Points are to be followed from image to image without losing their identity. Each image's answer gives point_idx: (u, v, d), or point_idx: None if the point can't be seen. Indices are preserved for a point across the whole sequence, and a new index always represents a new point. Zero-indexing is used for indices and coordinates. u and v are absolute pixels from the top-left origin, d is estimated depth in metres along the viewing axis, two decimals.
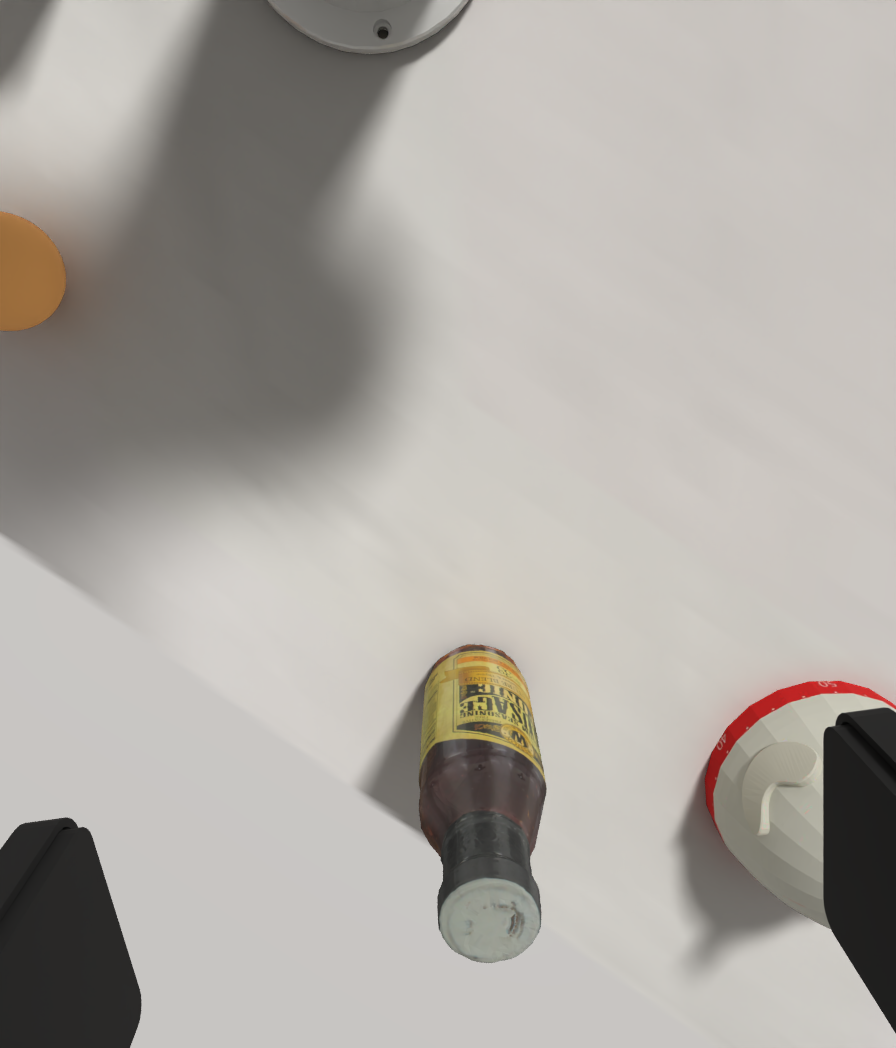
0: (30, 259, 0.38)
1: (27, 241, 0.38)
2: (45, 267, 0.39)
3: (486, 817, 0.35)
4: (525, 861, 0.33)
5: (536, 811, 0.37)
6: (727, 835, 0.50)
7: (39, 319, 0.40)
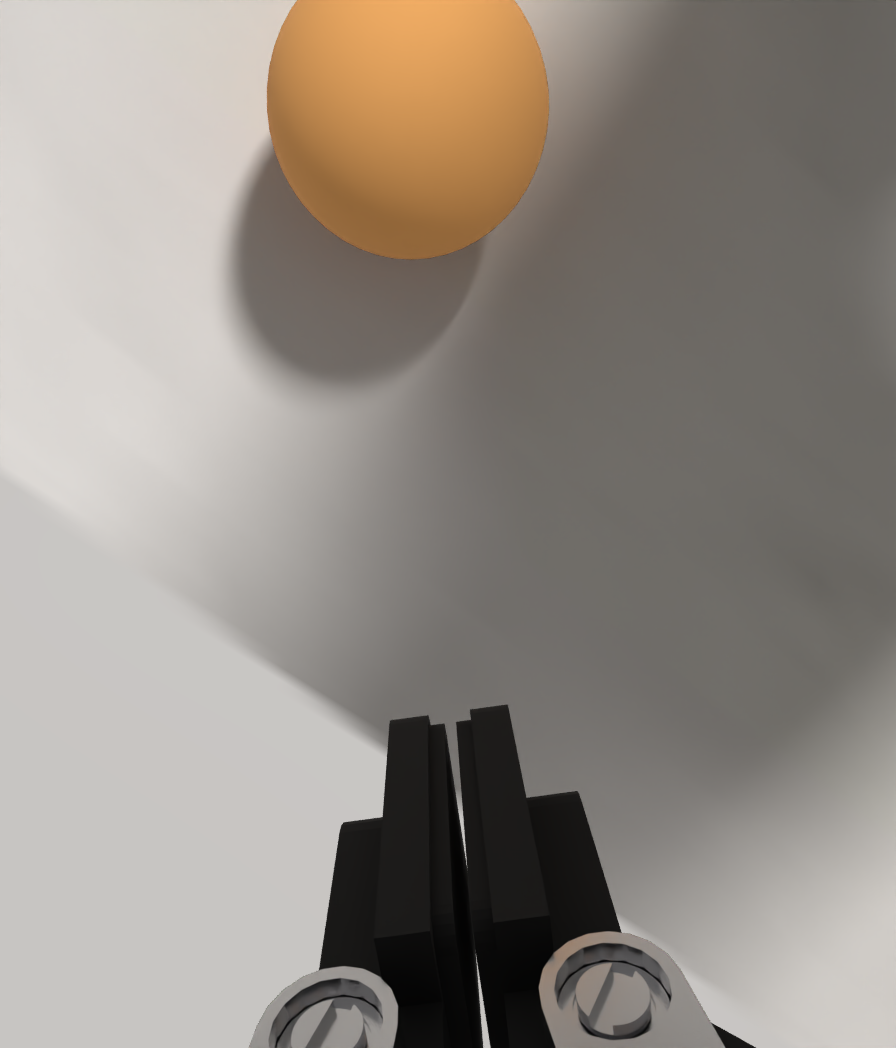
0: (525, 63, 0.15)
1: (516, 16, 0.15)
2: (542, 91, 0.15)
3: None
4: None
5: None
6: None
7: (489, 230, 0.17)
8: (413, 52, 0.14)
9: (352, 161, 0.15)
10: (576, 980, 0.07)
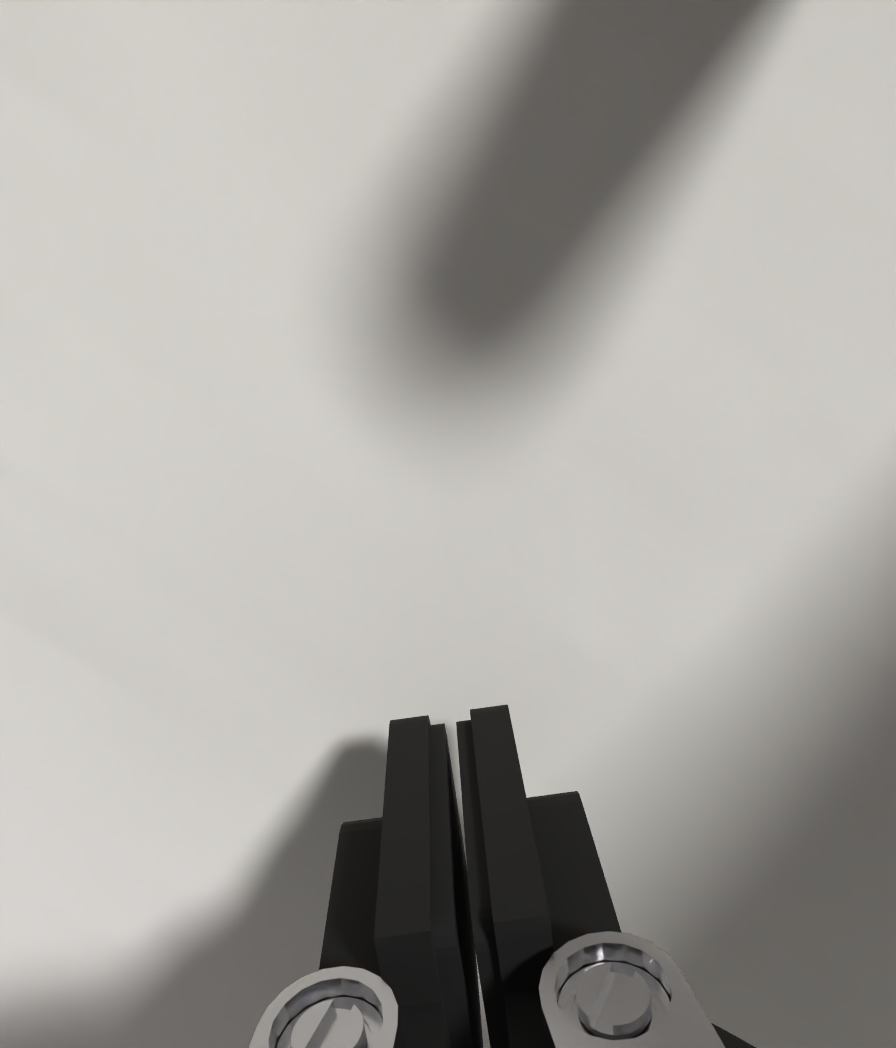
0: None
1: None
2: None
3: None
4: None
5: None
6: None
7: None
8: None
9: None
10: (576, 982, 0.07)
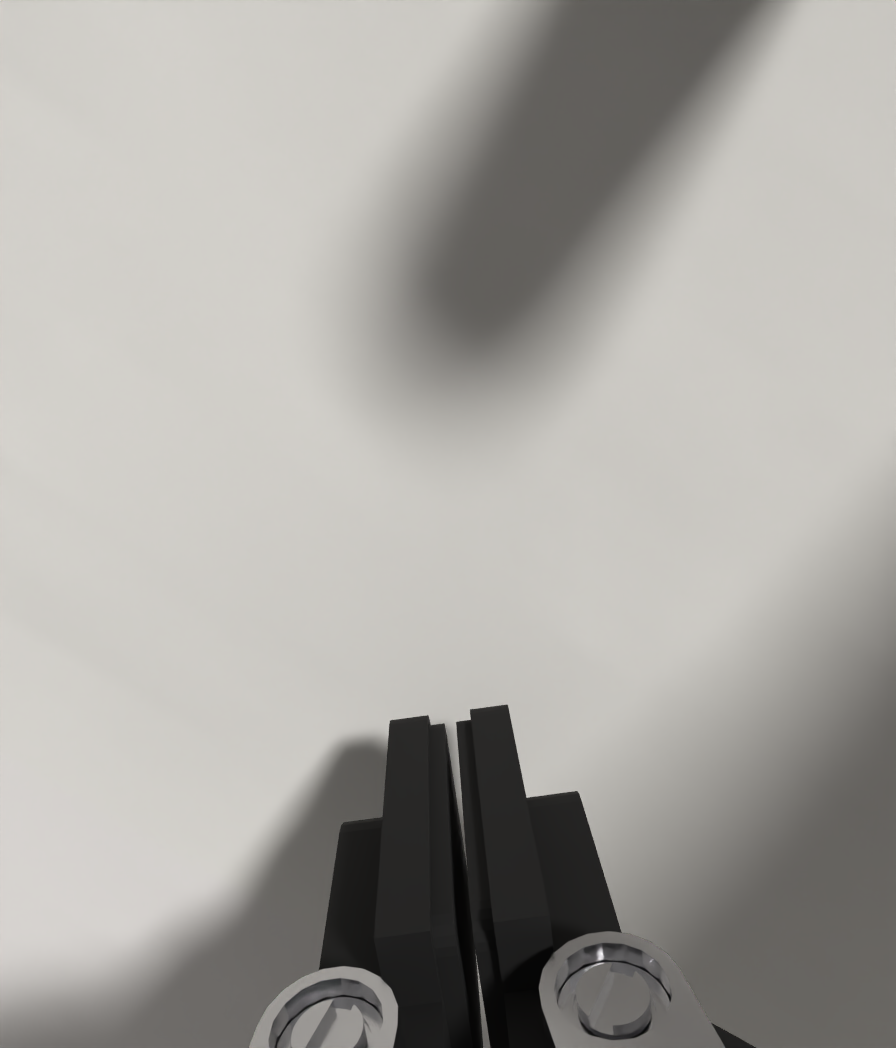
0: None
1: None
2: None
3: None
4: None
5: None
6: None
7: None
8: None
9: None
10: (576, 982, 0.07)
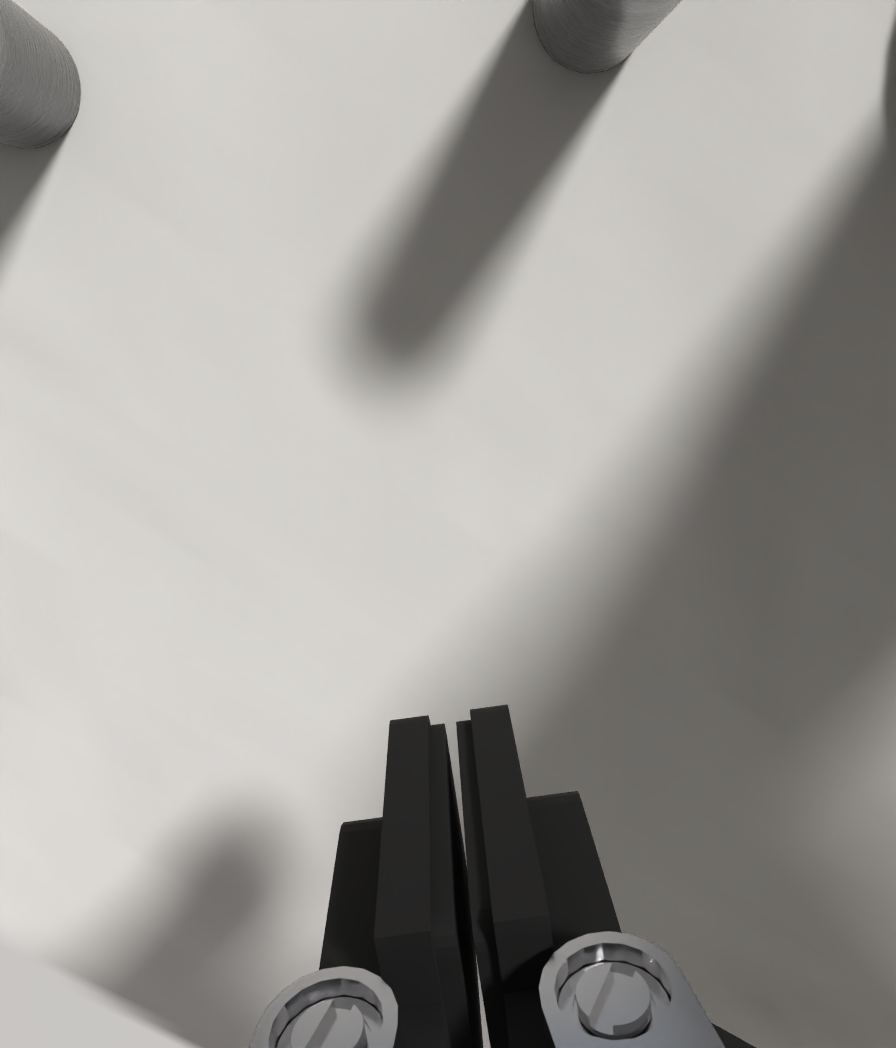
0: None
1: None
2: None
3: None
4: None
5: None
6: None
7: None
8: None
9: None
10: (577, 981, 0.07)
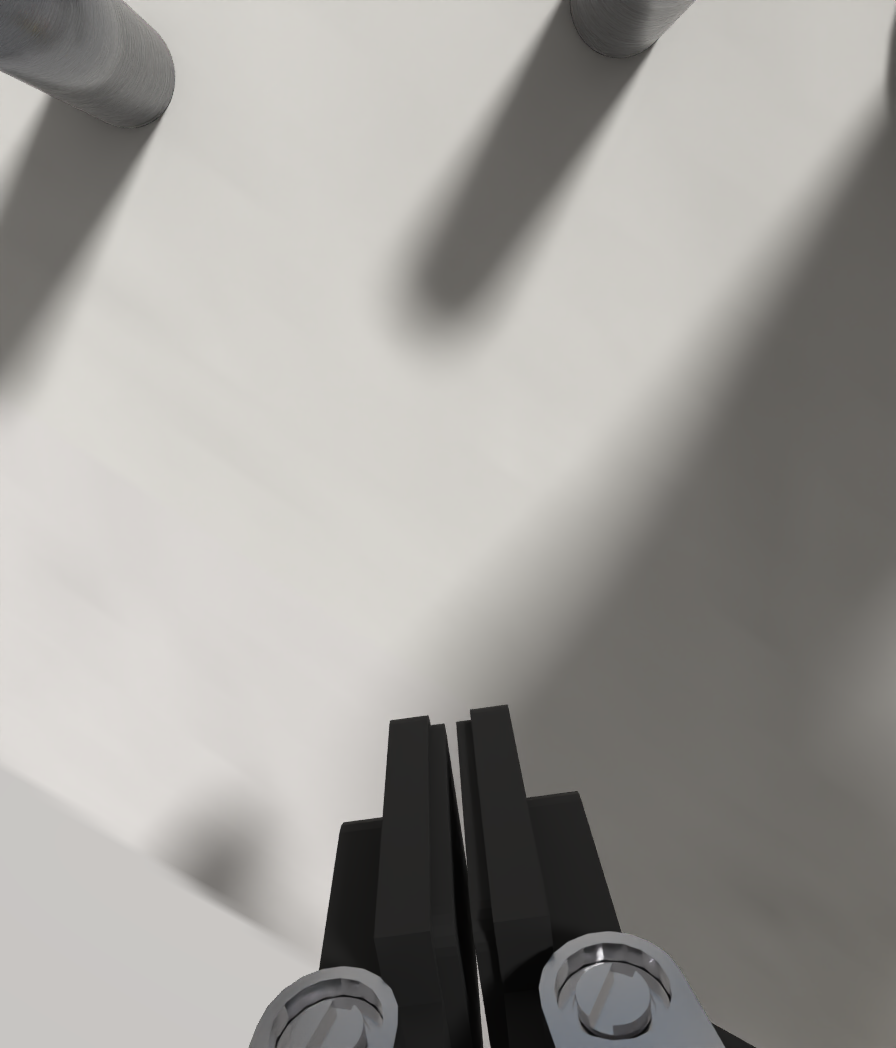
0: None
1: None
2: None
3: None
4: None
5: None
6: None
7: None
8: None
9: None
10: (576, 982, 0.07)
